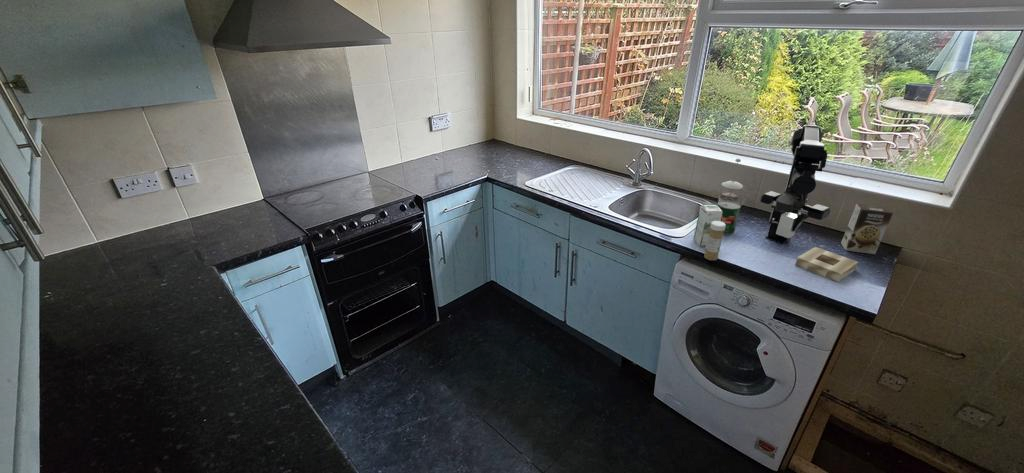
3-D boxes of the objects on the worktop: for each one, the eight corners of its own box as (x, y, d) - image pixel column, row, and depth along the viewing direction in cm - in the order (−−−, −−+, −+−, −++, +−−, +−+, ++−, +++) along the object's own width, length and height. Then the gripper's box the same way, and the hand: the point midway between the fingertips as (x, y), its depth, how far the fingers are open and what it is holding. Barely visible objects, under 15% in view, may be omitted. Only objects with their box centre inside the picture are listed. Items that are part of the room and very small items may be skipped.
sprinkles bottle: (710, 253, 154) (717, 219, 148) (720, 259, 151) (729, 224, 145) (700, 256, 153) (708, 221, 147) (711, 262, 149) (719, 227, 143)
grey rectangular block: (775, 233, 144) (781, 214, 141) (781, 230, 146) (787, 211, 143) (788, 238, 141) (794, 218, 138) (794, 235, 143) (800, 215, 140)
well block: (794, 265, 147) (797, 257, 145) (812, 254, 153) (815, 246, 152) (838, 282, 137) (841, 274, 136) (855, 269, 144) (858, 261, 142)
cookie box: (845, 250, 155) (861, 209, 148) (840, 243, 161) (855, 202, 154) (876, 254, 153) (893, 213, 145) (869, 246, 158) (886, 206, 151)
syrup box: (708, 239, 164) (715, 204, 158) (714, 246, 159) (723, 210, 153) (693, 239, 164) (700, 204, 158) (699, 247, 159) (707, 210, 152)
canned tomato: (731, 226, 174) (737, 201, 169) (736, 235, 167) (743, 209, 162) (710, 225, 175) (716, 200, 170) (715, 234, 168) (721, 208, 163)
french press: (709, 210, 189) (721, 154, 177) (738, 211, 187) (752, 155, 176) (716, 220, 180) (729, 161, 169) (745, 221, 179) (760, 162, 167)
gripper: (757, 181, 138) (745, 225, 145) (821, 198, 124) (805, 246, 131) (775, 174, 144) (763, 217, 151) (838, 190, 130) (822, 236, 137)
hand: (786, 228), depth 142 cm, fingers closed on grey rectangular block, 4 cm apart
